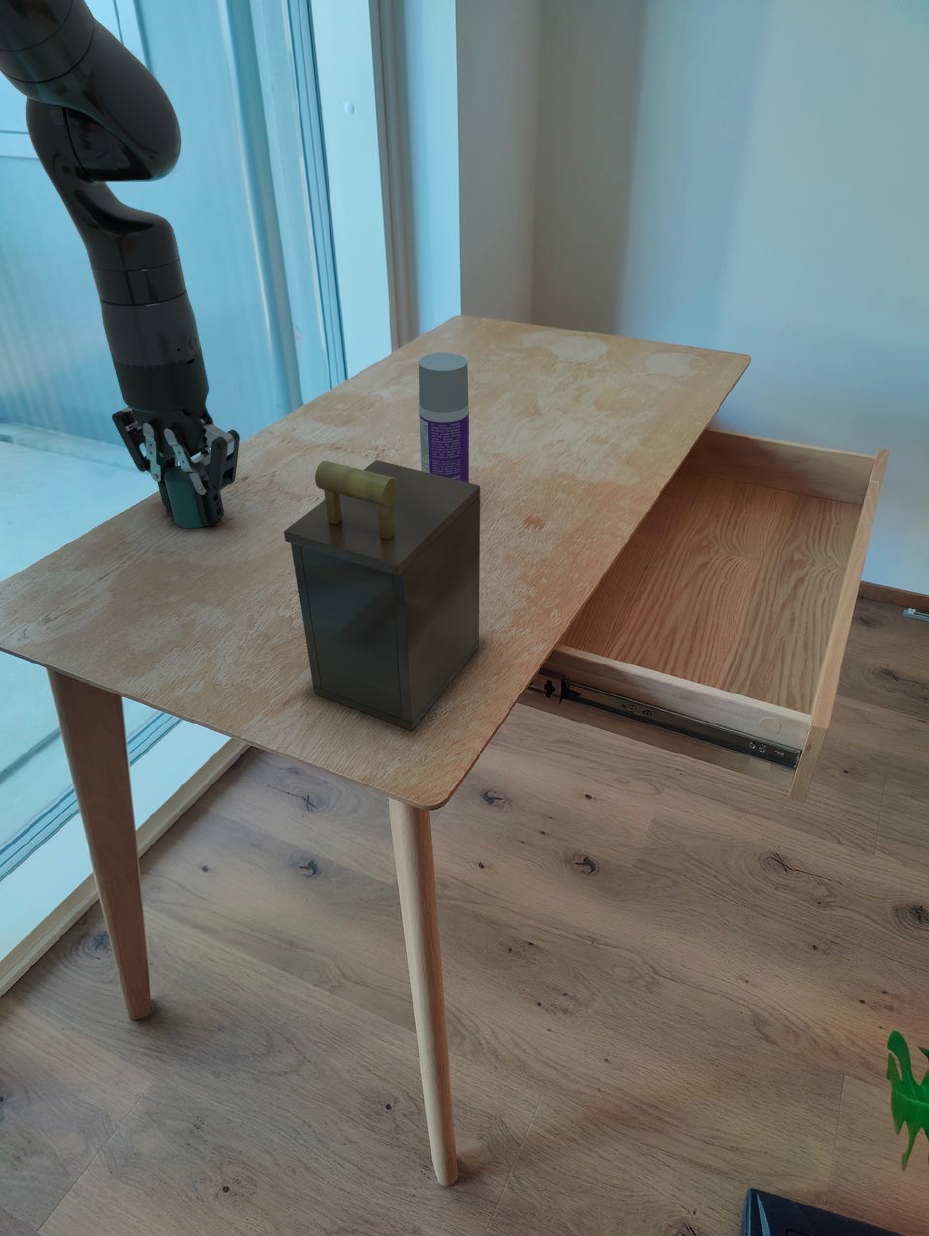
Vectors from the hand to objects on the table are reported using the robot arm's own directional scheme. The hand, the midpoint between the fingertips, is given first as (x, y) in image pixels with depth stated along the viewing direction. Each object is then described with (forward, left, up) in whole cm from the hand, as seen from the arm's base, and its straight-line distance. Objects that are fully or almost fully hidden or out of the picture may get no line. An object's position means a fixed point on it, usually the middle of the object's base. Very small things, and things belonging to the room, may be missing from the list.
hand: (195, 516), depth 83 cm
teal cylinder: (0, 0, 0) cm, 0 cm away
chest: (+6, -31, 0) cm, 32 cm away
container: (+22, -11, 0) cm, 25 cm away
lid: (+6, -31, +14) cm, 34 cm away
